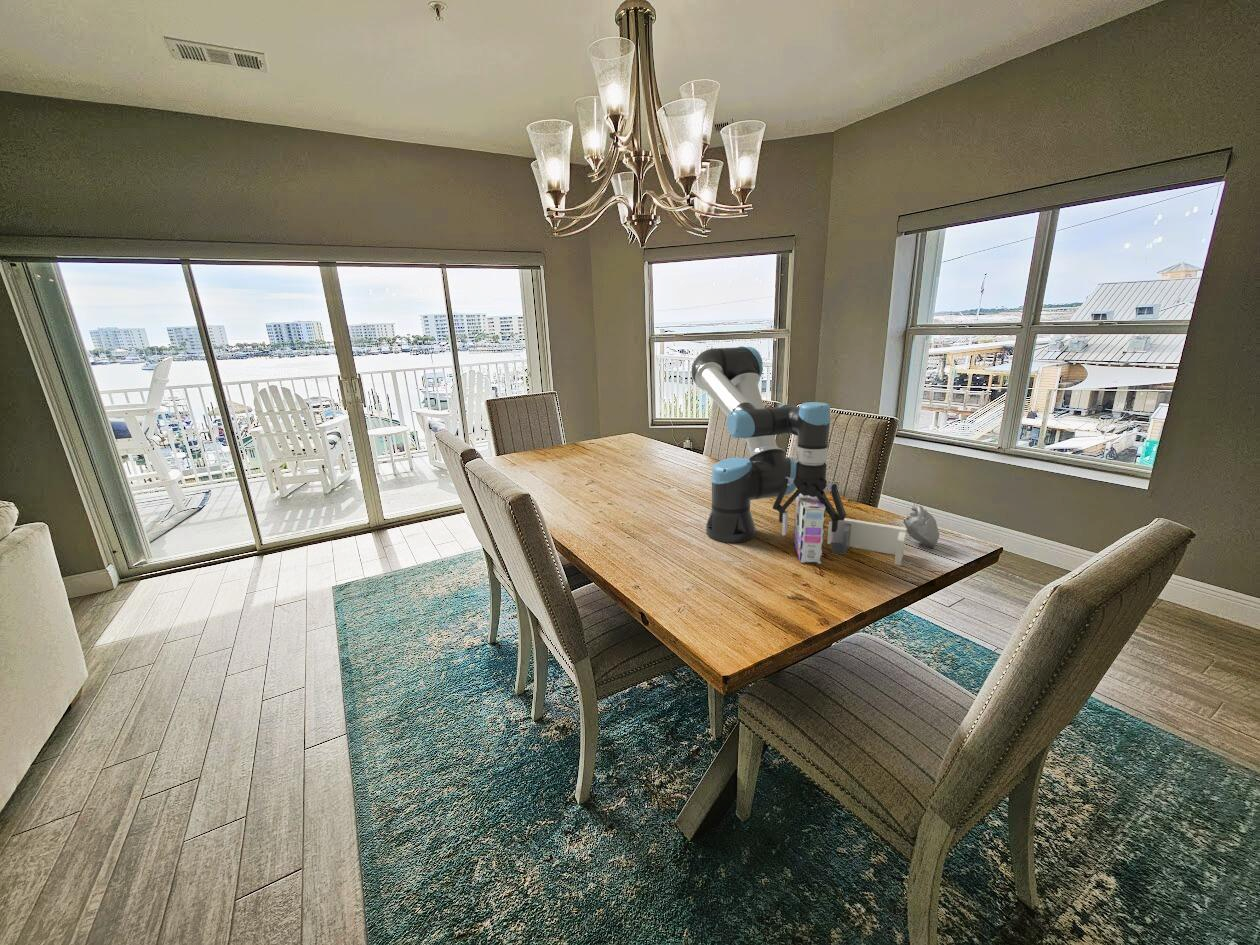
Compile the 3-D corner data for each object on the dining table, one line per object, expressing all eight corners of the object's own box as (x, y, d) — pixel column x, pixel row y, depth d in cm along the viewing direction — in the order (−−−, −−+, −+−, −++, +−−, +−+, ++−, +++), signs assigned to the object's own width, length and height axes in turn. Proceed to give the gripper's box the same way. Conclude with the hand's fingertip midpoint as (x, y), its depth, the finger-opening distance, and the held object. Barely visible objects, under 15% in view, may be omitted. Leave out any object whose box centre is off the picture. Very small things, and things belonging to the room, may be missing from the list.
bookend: (830, 551, 135) (831, 528, 133) (834, 543, 140) (836, 521, 138) (845, 554, 133) (847, 531, 131) (849, 546, 138) (851, 523, 136)
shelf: (824, 550, 136) (826, 525, 134) (830, 540, 142) (832, 516, 140) (900, 565, 126) (904, 538, 124) (903, 554, 132) (906, 527, 130)
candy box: (822, 564, 128) (826, 507, 124) (799, 563, 129) (802, 506, 125) (813, 542, 141) (817, 490, 136) (792, 542, 142) (795, 489, 138)
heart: (915, 554, 131) (928, 513, 127) (891, 539, 139) (903, 501, 136) (946, 556, 132) (960, 516, 129) (921, 541, 141) (933, 503, 138)
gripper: (762, 460, 130) (760, 534, 136) (858, 470, 117) (850, 551, 123) (771, 454, 136) (768, 525, 142) (863, 463, 123) (855, 541, 129)
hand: (806, 537), depth 133 cm, fingers open, 11 cm apart
